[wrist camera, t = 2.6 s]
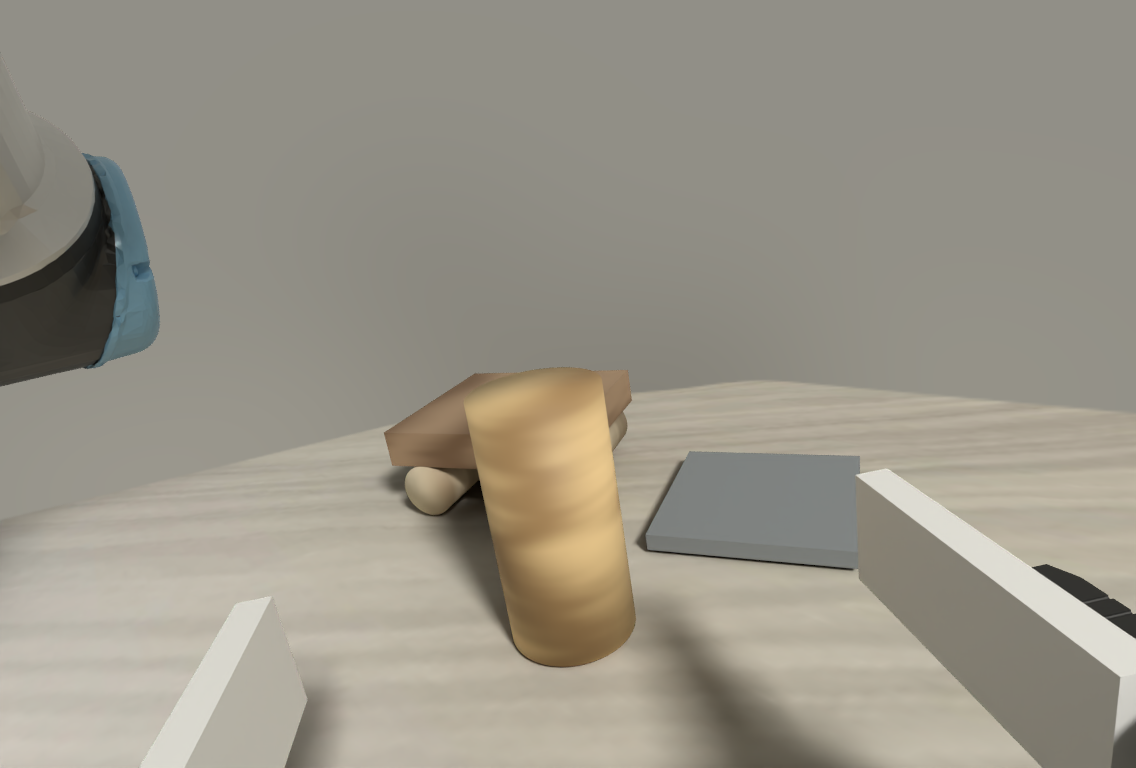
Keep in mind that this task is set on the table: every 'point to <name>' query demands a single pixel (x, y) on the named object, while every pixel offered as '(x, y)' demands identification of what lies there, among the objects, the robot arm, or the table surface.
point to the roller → (554, 512)
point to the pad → (762, 508)
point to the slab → (467, 441)
